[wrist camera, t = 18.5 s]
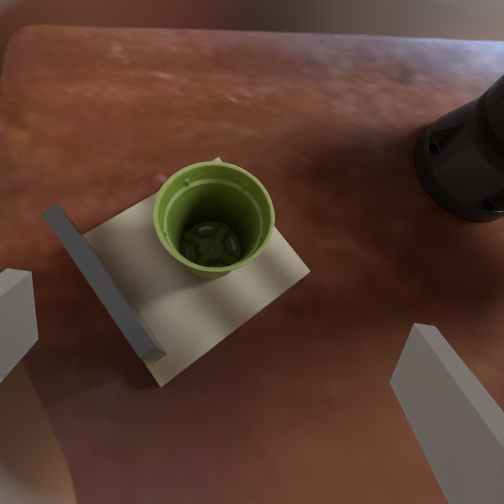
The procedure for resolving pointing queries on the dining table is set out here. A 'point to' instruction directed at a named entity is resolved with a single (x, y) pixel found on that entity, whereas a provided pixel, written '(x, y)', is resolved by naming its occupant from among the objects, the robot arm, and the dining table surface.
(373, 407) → the dining table surface
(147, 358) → the bookend
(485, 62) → the dining table surface
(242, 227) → the plant pot
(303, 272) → the shelf board
